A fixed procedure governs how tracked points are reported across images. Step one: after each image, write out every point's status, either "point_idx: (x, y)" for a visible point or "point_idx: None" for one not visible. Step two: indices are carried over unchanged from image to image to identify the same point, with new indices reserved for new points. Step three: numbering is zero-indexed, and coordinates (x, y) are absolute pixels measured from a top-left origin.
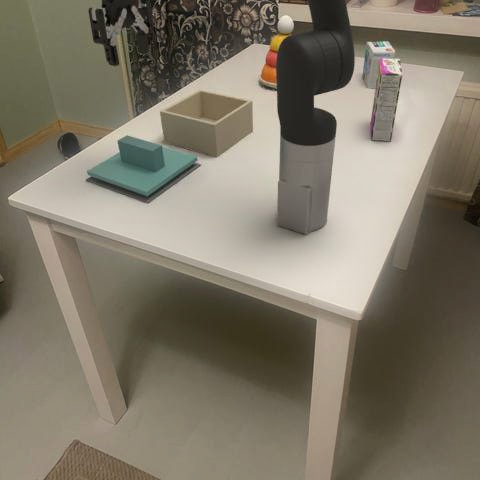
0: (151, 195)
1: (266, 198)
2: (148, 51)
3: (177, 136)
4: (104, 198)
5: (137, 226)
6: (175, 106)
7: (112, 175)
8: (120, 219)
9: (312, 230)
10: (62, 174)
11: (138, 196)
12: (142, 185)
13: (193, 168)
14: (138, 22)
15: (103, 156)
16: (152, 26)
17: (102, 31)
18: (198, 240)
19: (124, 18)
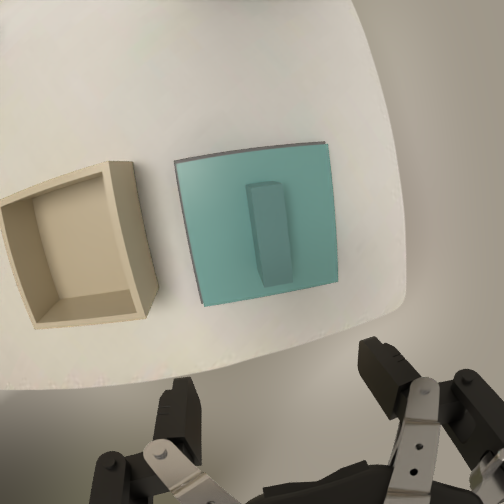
0: None
1: (194, 12)
2: (174, 379)
3: (145, 260)
4: (352, 211)
5: (368, 114)
6: (104, 315)
7: (325, 236)
8: (372, 147)
9: None
10: (339, 319)
11: None
12: (318, 166)
13: (194, 159)
14: (225, 493)
15: (266, 324)
16: (110, 456)
17: (495, 402)
18: (336, 30)
19: (389, 495)
